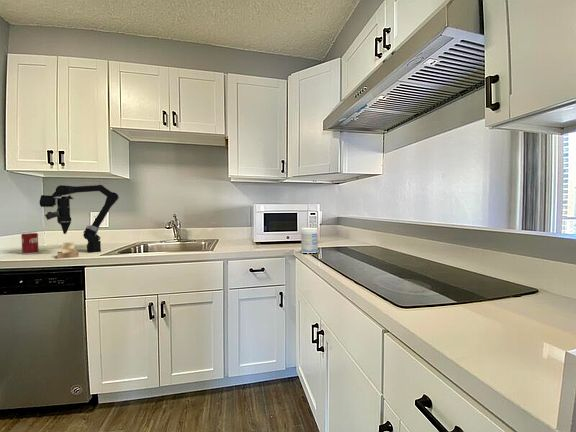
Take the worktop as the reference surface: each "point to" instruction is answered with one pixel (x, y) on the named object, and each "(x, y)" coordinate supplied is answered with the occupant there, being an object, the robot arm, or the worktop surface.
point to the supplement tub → (309, 240)
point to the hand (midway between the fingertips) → (64, 233)
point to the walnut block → (68, 254)
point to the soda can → (29, 243)
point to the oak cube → (67, 247)
